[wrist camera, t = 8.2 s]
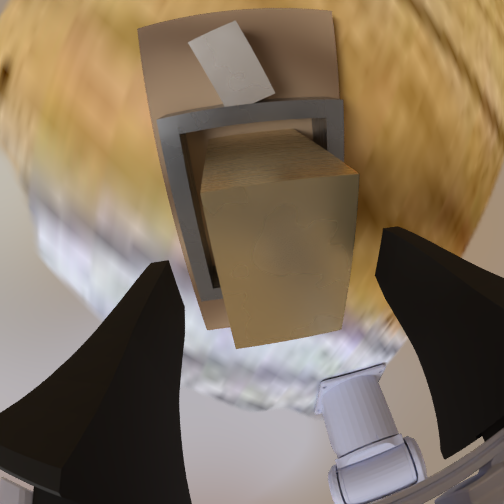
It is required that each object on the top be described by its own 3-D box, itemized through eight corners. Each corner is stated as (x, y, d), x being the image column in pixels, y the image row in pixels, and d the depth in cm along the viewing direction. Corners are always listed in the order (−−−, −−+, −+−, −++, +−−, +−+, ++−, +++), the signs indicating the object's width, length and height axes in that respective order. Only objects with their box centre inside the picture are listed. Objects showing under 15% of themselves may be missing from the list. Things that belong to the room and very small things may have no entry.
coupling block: (292, 128, 12) (359, 173, 7) (297, 235, 16) (341, 329, 10) (208, 138, 12) (200, 192, 6) (227, 245, 16) (236, 348, 10)
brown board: (326, 300, 20) (339, 330, 18) (207, 320, 20) (207, 352, 18) (324, 14, 10) (348, 2, 7) (142, 31, 9) (124, 20, 7)
